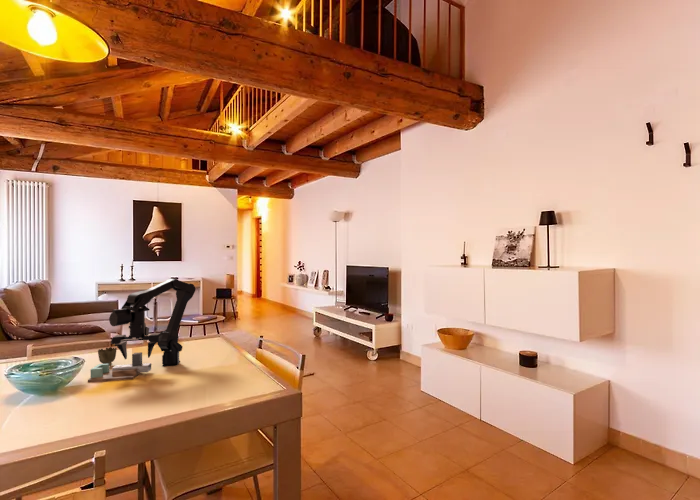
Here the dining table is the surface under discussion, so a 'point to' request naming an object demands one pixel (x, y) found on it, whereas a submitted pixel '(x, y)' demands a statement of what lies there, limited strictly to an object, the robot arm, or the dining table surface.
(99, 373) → the socket block
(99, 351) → the cup
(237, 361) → the dining table surface
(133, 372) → the slide base
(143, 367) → the grey t-shaped block
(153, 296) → the robot arm
